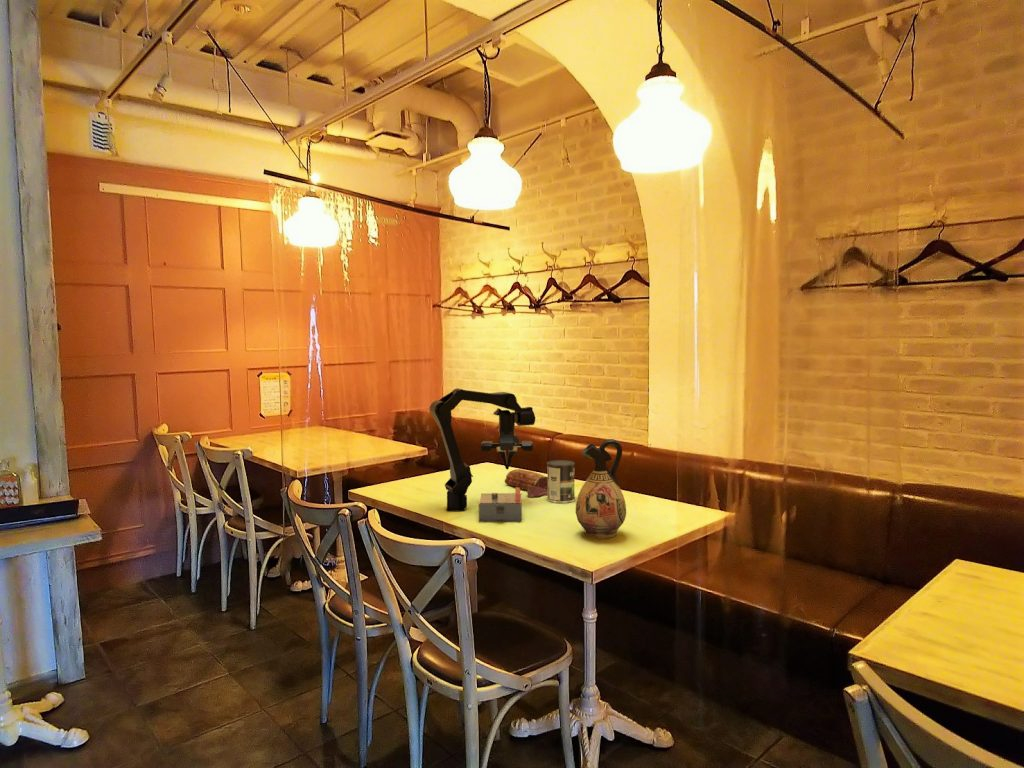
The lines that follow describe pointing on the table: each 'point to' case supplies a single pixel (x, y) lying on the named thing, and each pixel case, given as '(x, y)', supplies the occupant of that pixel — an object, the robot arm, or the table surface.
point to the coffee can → (560, 481)
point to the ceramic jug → (601, 494)
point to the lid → (501, 498)
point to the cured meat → (528, 482)
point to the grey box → (500, 512)
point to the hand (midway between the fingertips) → (507, 469)
